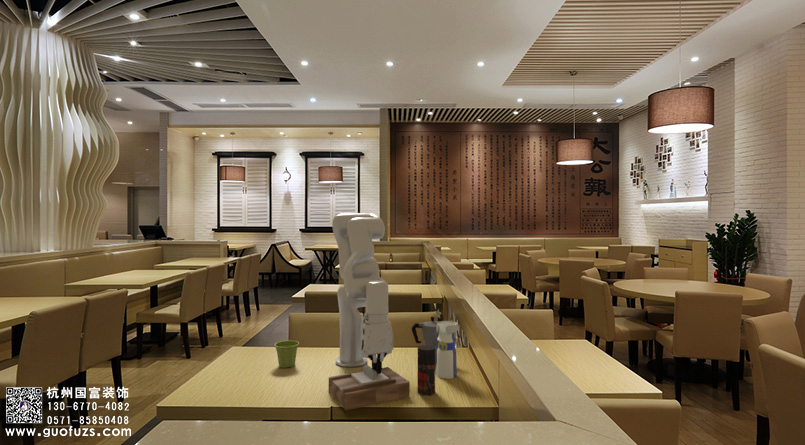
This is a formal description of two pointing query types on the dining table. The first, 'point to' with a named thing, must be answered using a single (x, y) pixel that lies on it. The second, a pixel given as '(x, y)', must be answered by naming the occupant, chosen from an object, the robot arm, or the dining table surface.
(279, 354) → the plant pot
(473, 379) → the dining table surface
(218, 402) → the dining table surface
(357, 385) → the socket block
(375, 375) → the panel
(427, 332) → the coffeepot
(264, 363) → the dining table surface
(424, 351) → the deodorant
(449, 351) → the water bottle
